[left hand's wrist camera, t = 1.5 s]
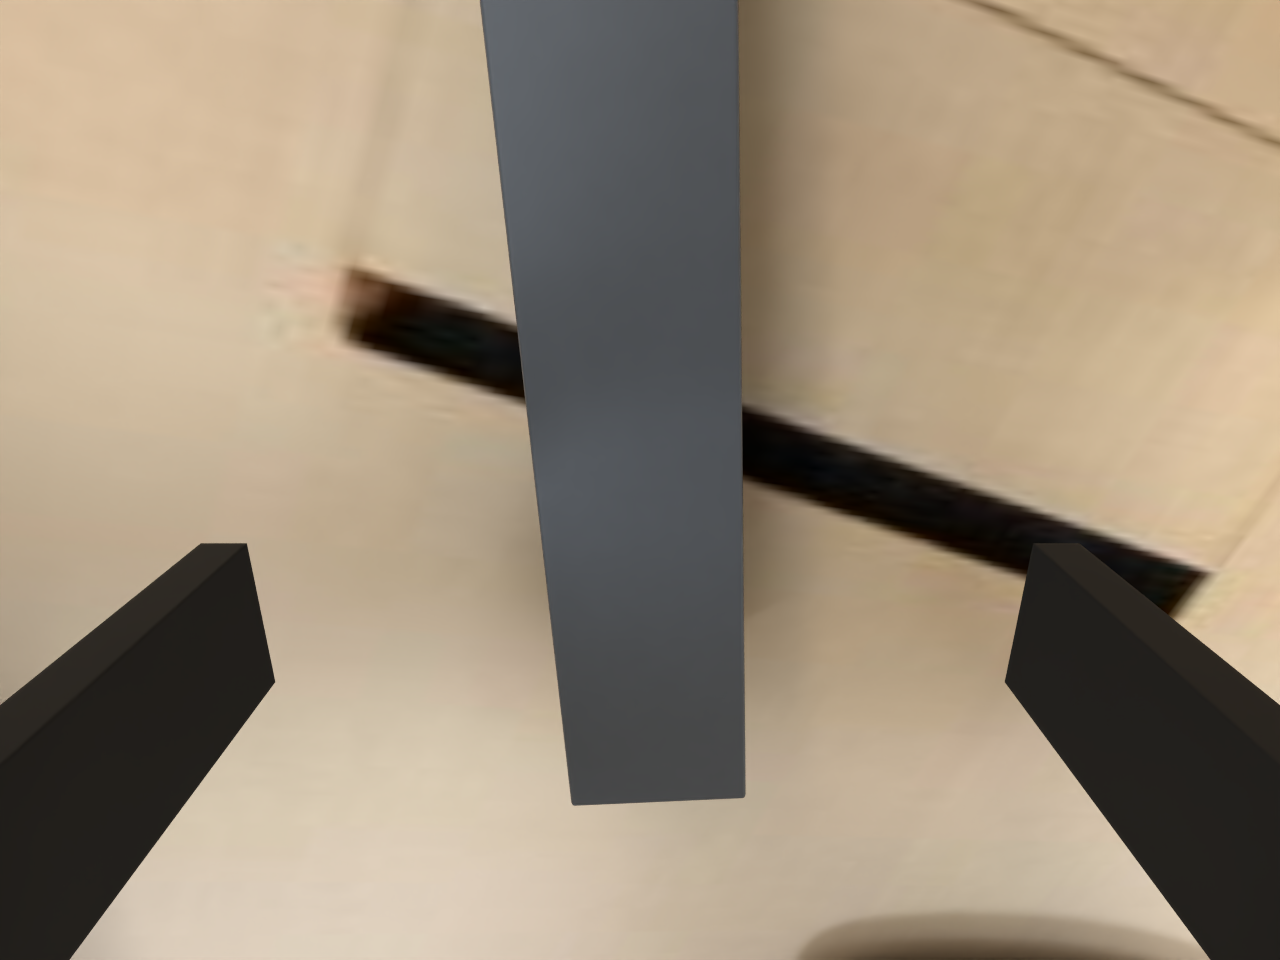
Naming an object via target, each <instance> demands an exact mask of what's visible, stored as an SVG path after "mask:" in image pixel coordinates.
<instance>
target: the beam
mask: <svg viewBox="0 0 1280 960" xmlns="http://www.w3.org/2000/svg"><path fill="white" fill-rule="evenodd" d="M480 6H481V15H482V23H483V32H484V41H485V50H486V58H487V67H488V76H489V85H490V93H491V102H492V111H493V120H494V128H495V137H496V146H497V155H498V163H499V172H500V181H501V190H502V198H503V207H504V216H505V225H506V234H507V242H508V251H509V260H510V269H511V277H512V286H513V295H514V304H515V312H516V321H517V330H518V339H519V347H520V356H521V365H522V374H523V382H524V391H525V400H526V409H527V417H528V426H529V435H530V444H531V452H532V461H533V470H534V479H535V487H536V496H537V505H538V514H539V522H540V531H541V540H542V549H543V557H544V566H545V575H546V584H547V592H548V601H549V610H550V619H551V627H552V636H553V645H554V654H555V662H556V671H557V680H558V689H559V697H560V706H561V715H562V724H563V732H564V741H565V750H566V759H567V767H568V776H569V785H570V794H571V802H572V804H573V805H575V806H576V805H598V804H620V803H643V802H665V801H687V800H709V799H731V798H744V797H745V687H744V577H743V468H742V358H741V249H740V140H739V30H738V0H480Z"/></svg>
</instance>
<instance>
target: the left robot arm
mask: <svg viewBox="0 0 1280 960" xmlns="http://www.w3.org/2000/svg"><path fill="white" fill-rule="evenodd" d="M274 683H275V679H274V674H273V669H272V664H271V659H270V654H269V649H268V645H267V640H266V635H265V630H264V625H263V620H262V615H261V610H260V606H259V601H258V596H257V591H256V586H255V581H254V576H253V571H252V567H251V562H250V557H249V552H248V547H247V543H201V544H200V545H198V546H197V547H196V548H195V549H193V550H192V551H191V552H190V553H188V554H187V555H186V556H185V557H183V558H182V559H181V560H180V561H178V562H177V563H176V564H175V565H174V566H172V567H171V568H170V569H169V570H167V571H166V572H165V573H164V574H162V575H161V576H160V577H159V578H157V579H156V580H155V581H154V582H152V583H151V584H150V585H149V586H147V587H146V588H145V589H144V590H142V591H141V592H140V593H139V594H138V595H136V596H135V597H134V598H133V599H131V600H130V601H129V602H128V603H126V604H125V605H124V606H123V607H121V608H120V609H119V610H118V611H116V612H115V613H114V614H113V615H111V616H110V617H109V618H108V619H106V620H105V621H104V622H103V623H102V624H100V625H99V626H98V627H97V628H95V629H94V630H93V631H92V632H90V633H89V634H88V635H87V636H85V637H84V638H83V639H82V640H80V641H79V642H78V643H77V644H75V645H74V646H73V647H72V648H71V649H69V650H68V651H67V652H66V653H64V654H63V655H62V656H61V657H59V658H58V659H57V660H56V661H54V662H53V663H52V664H51V665H49V666H48V667H47V668H46V669H44V670H43V671H42V672H41V673H39V674H38V675H37V676H36V677H35V678H33V679H32V680H31V681H30V682H28V683H27V684H26V685H25V686H23V687H22V688H21V689H20V690H18V691H17V692H16V693H15V694H13V695H12V696H11V697H10V698H8V699H7V700H6V701H5V702H3V703H2V704H1V705H0V960H70V958H71V957H72V956H73V954H74V953H75V952H76V950H77V949H78V947H79V946H80V945H81V943H82V942H83V941H84V939H85V938H86V937H87V935H88V934H89V933H90V931H91V930H92V929H93V927H94V926H95V925H96V923H97V922H98V920H99V919H100V918H101V916H102V915H103V914H104V912H105V911H106V910H107V908H108V907H109V906H110V904H111V903H112V902H113V900H114V899H115V898H116V896H117V895H118V893H119V892H120V891H121V889H122V888H123V887H124V885H125V884H126V883H127V881H128V880H129V879H130V877H131V876H132V875H133V873H134V872H135V871H136V869H137V868H138V867H139V865H140V864H141V862H142V861H143V860H144V858H145V857H146V856H147V854H148V853H149V852H150V850H151V849H152V848H153V846H154V845H155V844H156V842H157V841H158V840H159V838H160V837H161V835H162V834H163V833H164V831H165V830H166V829H167V827H168V826H169V825H170V823H171V822H172V821H173V819H174V818H175V817H176V815H177V814H178V813H179V811H180V810H181V808H182V807H183V806H184V804H185V803H186V802H187V800H188V799H189V798H190V796H191V795H192V794H193V792H194V791H195V790H196V788H197V787H198V786H199V784H200V783H201V781H202V780H203V779H204V777H205V776H206V775H207V773H208V772H209V771H210V769H211V768H212V767H213V765H214V764H215V763H216V761H217V760H218V759H219V757H220V756H221V754H222V753H223V752H224V750H225V749H226V748H227V746H228V745H229V744H230V742H231V741H232V740H233V738H234V737H235V736H236V734H237V733H238V732H239V730H240V729H241V727H242V726H243V725H244V723H245V722H246V721H247V719H248V718H249V717H250V715H251V714H252V713H253V711H254V710H255V709H256V707H257V706H258V705H259V703H260V702H261V700H262V699H263V698H264V696H265V695H266V694H267V692H268V691H269V690H270V688H271V687H272V686H273V684H274ZM1005 683H1006V684H1007V686H1008V687H1009V688H1010V690H1011V691H1012V692H1013V694H1014V695H1015V696H1016V698H1017V699H1018V700H1019V702H1020V703H1021V705H1022V706H1023V707H1024V709H1025V710H1026V711H1027V713H1028V714H1029V715H1030V717H1031V718H1032V719H1033V721H1034V722H1035V723H1036V725H1037V726H1038V727H1039V729H1040V730H1041V732H1042V733H1043V734H1044V736H1045V737H1046V738H1047V740H1048V741H1049V742H1050V744H1051V745H1052V746H1053V748H1054V749H1055V750H1056V752H1057V753H1058V754H1059V756H1060V757H1061V759H1062V760H1063V761H1064V763H1065V764H1066V765H1067V767H1068V768H1069V769H1070V771H1071V772H1072V773H1073V775H1074V776H1075V777H1076V779H1077V780H1078V781H1079V783H1080V784H1081V786H1082V787H1083V788H1084V790H1085V791H1086V792H1087V794H1088V795H1089V796H1090V798H1091V799H1092V800H1093V802H1094V803H1095V804H1096V806H1097V807H1098V808H1099V810H1100V811H1101V813H1102V814H1103V815H1104V817H1105V818H1106V819H1107V821H1108V822H1109V823H1110V825H1111V826H1112V827H1113V829H1114V830H1115V831H1116V833H1117V834H1118V835H1119V837H1120V838H1121V840H1122V841H1123V842H1124V844H1125V845H1126V846H1127V848H1128V849H1129V850H1130V852H1131V853H1132V854H1133V856H1134V857H1135V858H1136V860H1137V861H1138V862H1139V864H1140V865H1141V867H1142V868H1143V869H1144V871H1145V872H1146V873H1147V875H1148V876H1149V877H1150V879H1151V880H1152V881H1153V883H1154V884H1155V885H1156V887H1157V888H1158V889H1159V891H1160V892H1161V893H1162V895H1163V896H1164V898H1165V899H1166V900H1167V902H1168V903H1169V904H1170V906H1171V907H1172V908H1173V910H1174V911H1175V912H1176V914H1177V915H1178V916H1179V918H1180V919H1181V920H1182V922H1183V923H1184V925H1185V926H1186V927H1187V929H1188V930H1189V931H1190V933H1191V934H1192V935H1193V937H1194V938H1195V939H1196V941H1197V942H1198V943H1199V945H1200V946H1201V947H1202V949H1203V950H1204V952H1205V953H1206V954H1207V956H1208V957H1209V958H1210V960H1280V705H1279V704H1278V703H1277V702H1275V701H1274V700H1273V699H1272V698H1270V697H1269V696H1268V695H1267V694H1265V693H1264V692H1263V691H1262V690H1260V689H1259V688H1258V687H1257V686H1255V685H1254V684H1253V683H1252V682H1250V681H1249V680H1248V679H1247V678H1245V677H1244V676H1243V675H1242V674H1241V673H1239V672H1238V671H1237V670H1236V669H1234V668H1233V667H1232V666H1231V665H1229V664H1228V663H1227V662H1226V661H1224V660H1223V659H1222V658H1221V657H1219V656H1218V655H1217V654H1216V653H1214V652H1213V651H1212V650H1211V649H1209V648H1208V647H1207V646H1206V645H1205V644H1203V643H1202V642H1201V641H1200V640H1198V639H1197V638H1196V637H1195V636H1193V635H1192V634H1191V633H1190V632H1188V631H1187V630H1186V629H1185V628H1183V627H1182V626H1181V625H1180V624H1178V623H1177V622H1176V621H1175V620H1174V619H1172V618H1171V617H1170V616H1169V615H1167V614H1166V613H1165V612H1164V611H1162V610H1161V609H1160V608H1159V607H1157V606H1156V605H1155V604H1154V603H1152V602H1151V601H1150V600H1149V599H1147V598H1146V597H1145V596H1144V595H1142V594H1141V593H1140V592H1139V591H1138V590H1136V589H1135V588H1134V587H1133V586H1131V585H1130V584H1129V583H1128V582H1126V581H1125V580H1124V579H1123V578H1121V577H1120V576H1119V575H1118V574H1116V573H1115V572H1114V571H1113V570H1111V569H1110V568H1109V567H1108V566H1106V565H1105V564H1104V563H1103V562H1102V561H1100V560H1099V559H1098V558H1097V557H1095V556H1094V555H1093V554H1092V553H1090V552H1089V551H1088V550H1087V549H1085V548H1084V547H1083V546H1082V545H1080V544H1079V543H1033V547H1032V552H1031V557H1030V562H1029V567H1028V571H1027V576H1026V581H1025V586H1024V591H1023V596H1022V601H1021V606H1020V610H1019V615H1018V620H1017V625H1016V630H1015V635H1014V640H1013V645H1012V649H1011V654H1010V659H1009V664H1008V669H1007V674H1006V679H1005Z"/></svg>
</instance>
